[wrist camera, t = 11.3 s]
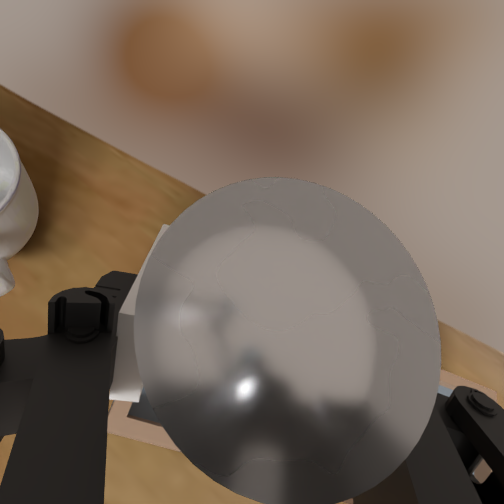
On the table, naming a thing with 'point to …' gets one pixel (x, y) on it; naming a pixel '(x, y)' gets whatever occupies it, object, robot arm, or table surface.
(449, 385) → the rectangular tray
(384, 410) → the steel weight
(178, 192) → the table surface
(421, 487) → the robot arm
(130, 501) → the table surface
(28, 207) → the teacup
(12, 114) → the table surface
